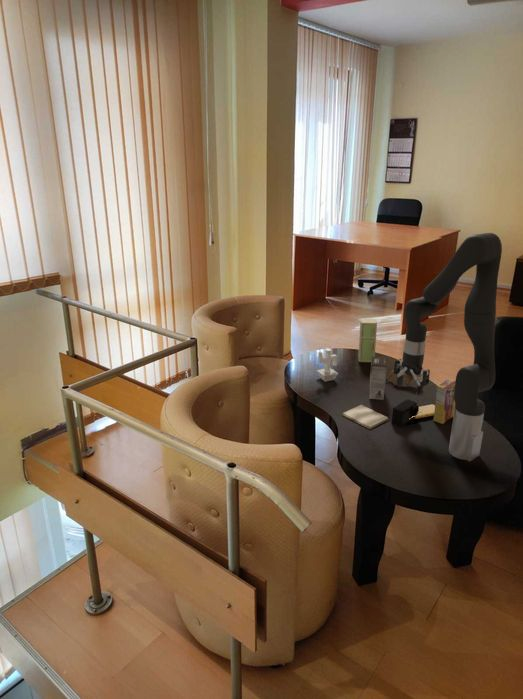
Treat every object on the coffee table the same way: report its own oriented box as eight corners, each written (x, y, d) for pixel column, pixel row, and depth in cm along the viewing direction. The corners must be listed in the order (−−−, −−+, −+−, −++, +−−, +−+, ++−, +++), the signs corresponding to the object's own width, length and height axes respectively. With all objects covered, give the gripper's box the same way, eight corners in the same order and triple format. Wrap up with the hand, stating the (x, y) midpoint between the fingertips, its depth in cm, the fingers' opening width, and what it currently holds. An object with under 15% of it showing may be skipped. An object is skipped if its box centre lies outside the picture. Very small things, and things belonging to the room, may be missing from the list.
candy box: (443, 412, 203) (448, 378, 197) (453, 416, 200) (458, 381, 194) (432, 420, 197) (436, 385, 191) (442, 424, 194) (447, 389, 188)
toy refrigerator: (358, 362, 250) (360, 322, 242) (357, 356, 257) (360, 317, 249) (374, 363, 249) (377, 323, 241) (373, 357, 256) (376, 318, 248)
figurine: (339, 380, 232) (341, 350, 226) (321, 383, 228) (323, 353, 223) (331, 374, 238) (332, 344, 232) (314, 377, 234) (315, 348, 229)
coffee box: (369, 389, 223) (371, 356, 217) (383, 390, 221) (386, 357, 215) (368, 399, 214) (371, 364, 208) (384, 400, 213) (387, 365, 207)
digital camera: (403, 428, 192) (405, 412, 189) (391, 423, 195) (392, 407, 193) (417, 419, 198) (419, 403, 196) (405, 414, 202) (407, 398, 199)
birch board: (388, 419, 198) (388, 417, 197) (369, 429, 191) (370, 427, 191) (360, 406, 208) (361, 404, 207) (342, 415, 201) (342, 413, 201)
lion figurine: (417, 382, 228) (419, 364, 225) (418, 387, 224) (420, 369, 220) (384, 380, 231) (386, 362, 228) (384, 385, 226) (386, 367, 223)
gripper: (436, 353, 182) (431, 393, 189) (404, 342, 193) (400, 380, 199) (424, 359, 178) (419, 399, 184) (391, 347, 188) (387, 385, 195)
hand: (409, 389), depth 192 cm, fingers open, 8 cm apart
